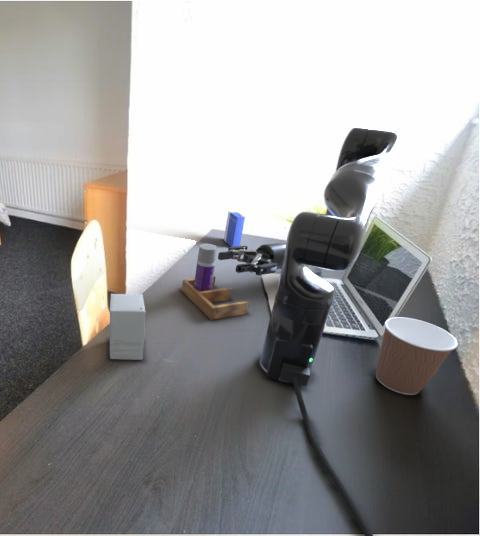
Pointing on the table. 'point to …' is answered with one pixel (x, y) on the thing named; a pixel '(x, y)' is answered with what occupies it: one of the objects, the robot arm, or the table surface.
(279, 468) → the table surface
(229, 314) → the caddy
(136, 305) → the white packaging box
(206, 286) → the container
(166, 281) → the table surface
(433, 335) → the coffee cup
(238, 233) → the walkman
